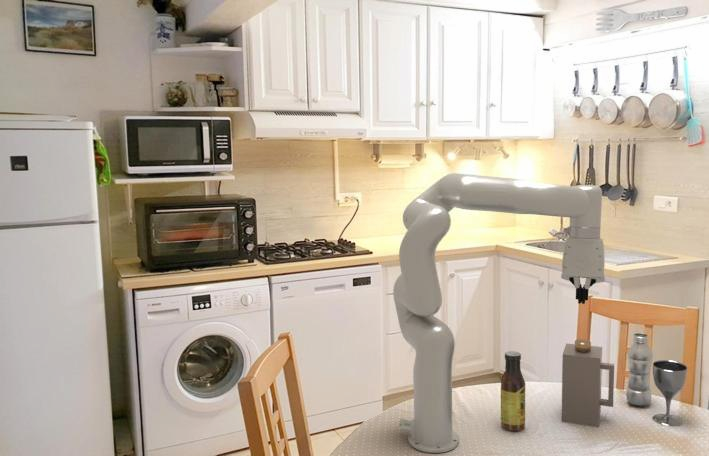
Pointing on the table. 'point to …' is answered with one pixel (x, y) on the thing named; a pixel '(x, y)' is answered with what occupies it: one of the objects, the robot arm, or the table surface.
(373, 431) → the table surface
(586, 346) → the plunger
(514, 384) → the sauce bottle
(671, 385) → the wine glass
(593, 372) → the press pot
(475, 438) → the table surface
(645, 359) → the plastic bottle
